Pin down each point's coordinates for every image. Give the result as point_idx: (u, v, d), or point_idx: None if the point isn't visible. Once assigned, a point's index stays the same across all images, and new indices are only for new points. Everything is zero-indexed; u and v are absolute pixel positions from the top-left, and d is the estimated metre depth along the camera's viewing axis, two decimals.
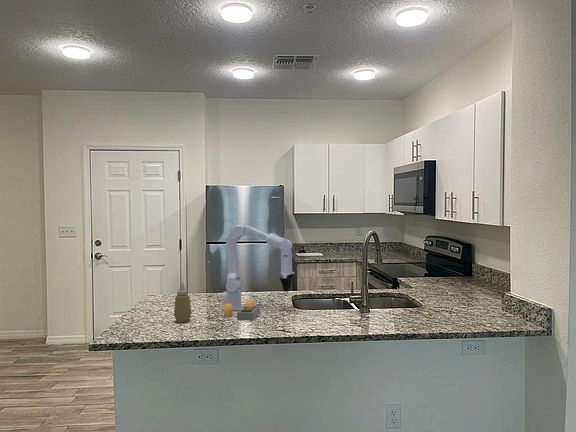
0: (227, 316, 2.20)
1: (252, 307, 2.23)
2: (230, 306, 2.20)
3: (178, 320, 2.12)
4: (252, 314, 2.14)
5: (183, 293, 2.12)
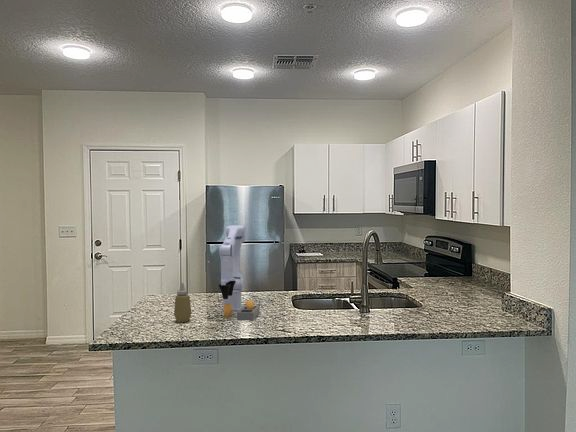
0: (227, 316, 2.20)
1: (252, 307, 2.23)
2: (230, 306, 2.20)
3: (178, 320, 2.12)
4: (252, 314, 2.14)
5: (183, 293, 2.12)
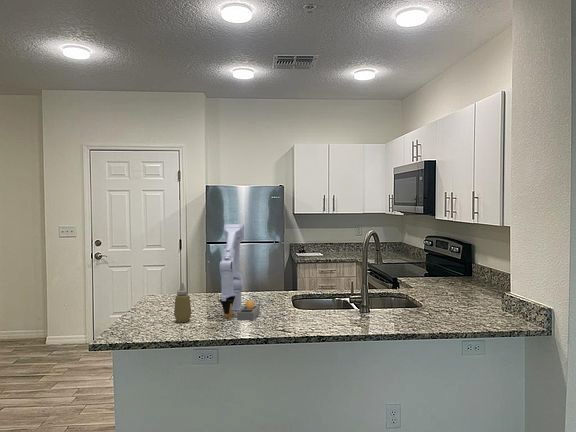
0: (227, 316, 2.20)
1: (252, 307, 2.23)
2: (230, 306, 2.20)
3: (178, 320, 2.12)
4: (252, 314, 2.14)
5: (183, 293, 2.12)
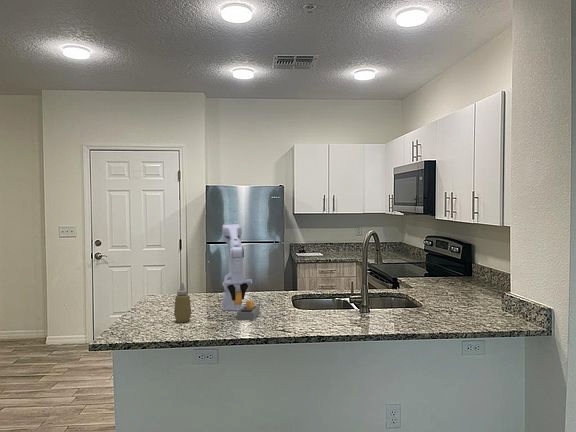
0: (234, 303, 2.18)
1: (252, 307, 2.23)
2: (237, 293, 2.17)
3: (178, 320, 2.12)
4: (252, 314, 2.14)
5: (183, 293, 2.12)
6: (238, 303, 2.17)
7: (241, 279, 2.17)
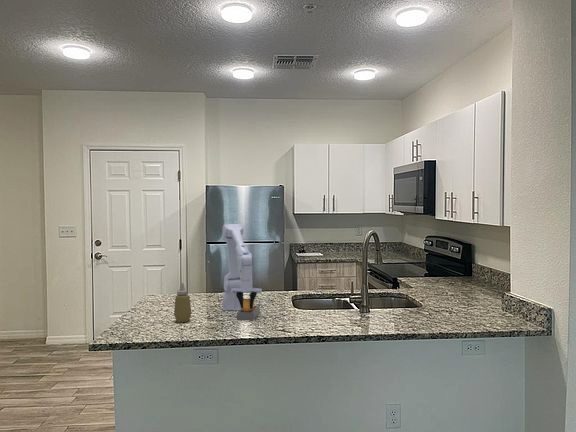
0: None
1: None
2: (243, 301, 2.16)
3: (178, 320, 2.12)
4: (252, 314, 2.14)
5: (183, 293, 2.12)
6: (245, 311, 2.16)
7: (247, 287, 2.15)
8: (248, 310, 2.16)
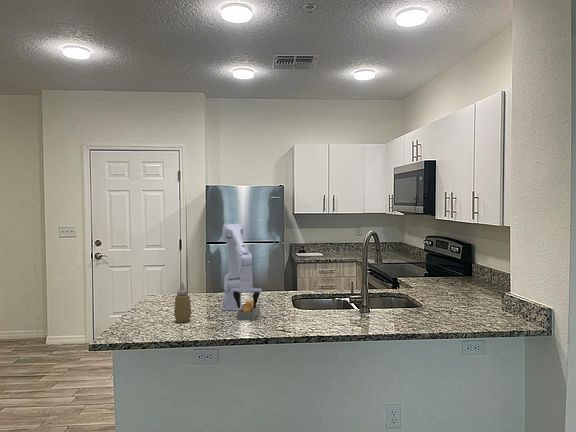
0: None
1: (252, 307, 2.23)
2: (244, 307, 2.16)
3: (178, 320, 2.12)
4: (252, 314, 2.14)
5: (183, 293, 2.12)
6: None
7: (247, 287, 2.15)
8: None
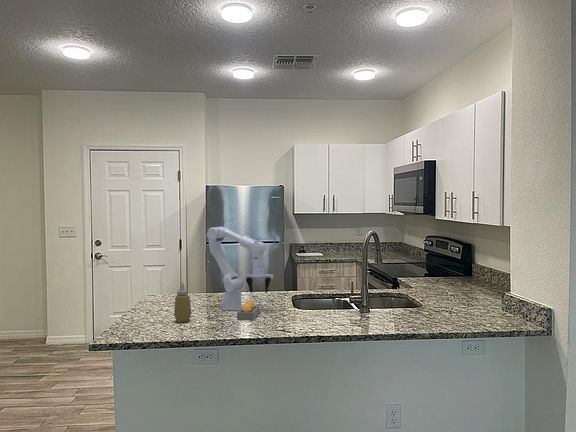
0: None
1: (252, 307, 2.23)
2: (244, 307, 2.16)
3: (178, 320, 2.12)
4: (252, 314, 2.14)
5: (183, 293, 2.12)
6: None
7: (259, 273, 2.28)
8: None
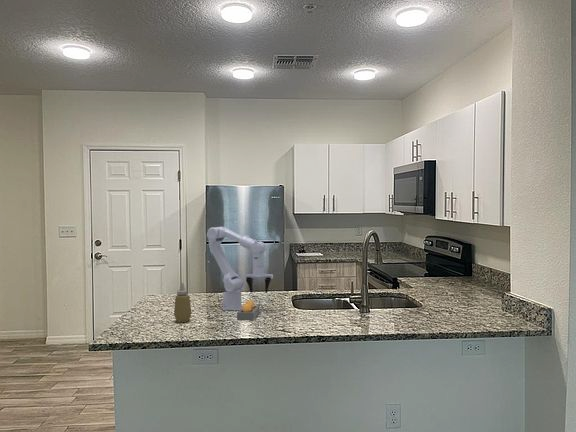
0: None
1: (252, 307, 2.23)
2: (244, 307, 2.16)
3: (178, 320, 2.12)
4: (252, 314, 2.14)
5: (183, 293, 2.12)
6: None
7: (259, 273, 2.28)
8: None
